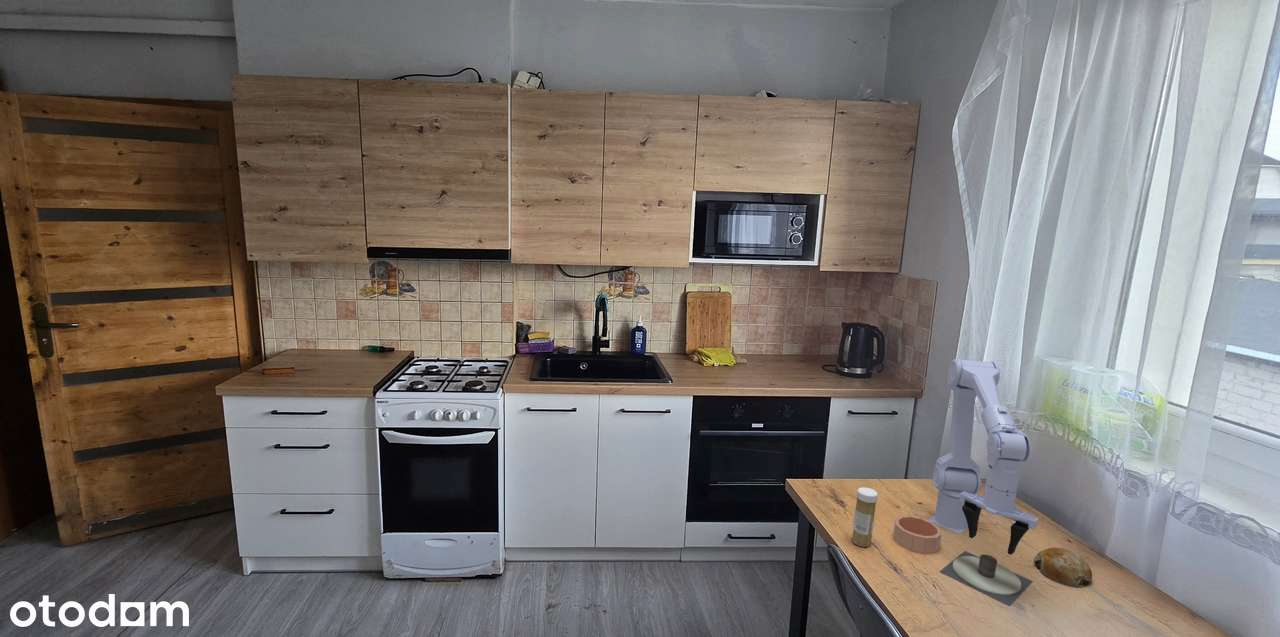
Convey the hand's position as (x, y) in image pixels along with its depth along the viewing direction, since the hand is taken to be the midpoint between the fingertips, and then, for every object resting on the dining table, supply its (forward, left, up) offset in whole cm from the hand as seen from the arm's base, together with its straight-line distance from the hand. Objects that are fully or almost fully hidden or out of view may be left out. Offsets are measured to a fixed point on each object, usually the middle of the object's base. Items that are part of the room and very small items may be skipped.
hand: (991, 544), depth 125 cm
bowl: (-1, -16, -8) cm, 18 cm away
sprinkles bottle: (+10, -24, -8) cm, 27 cm away
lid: (0, 0, -8) cm, 8 cm away
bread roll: (-16, +10, -9) cm, 21 cm away
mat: (0, 0, -8) cm, 8 cm away
